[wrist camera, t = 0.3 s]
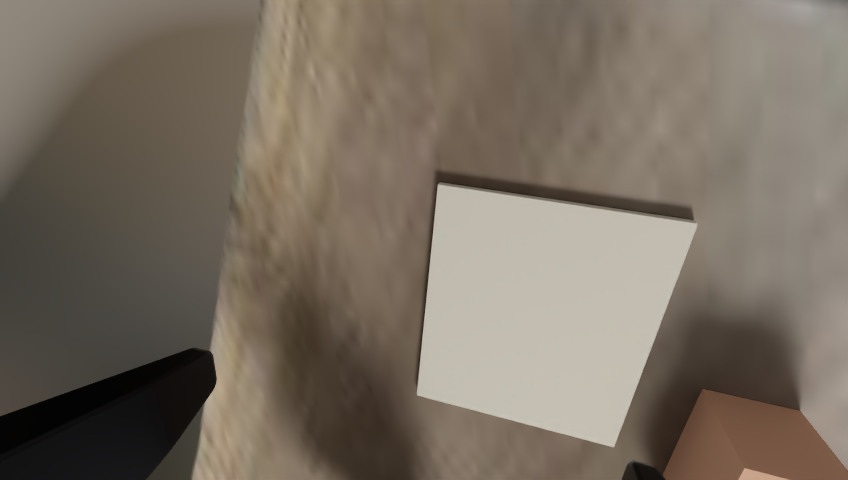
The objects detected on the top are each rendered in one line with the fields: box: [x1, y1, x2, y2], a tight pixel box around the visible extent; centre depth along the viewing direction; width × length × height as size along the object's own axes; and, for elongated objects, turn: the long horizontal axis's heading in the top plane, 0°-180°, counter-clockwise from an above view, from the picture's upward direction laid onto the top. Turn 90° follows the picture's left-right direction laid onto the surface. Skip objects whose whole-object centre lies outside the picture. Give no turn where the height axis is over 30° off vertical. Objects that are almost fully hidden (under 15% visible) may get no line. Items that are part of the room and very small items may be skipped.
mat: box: [417, 182, 698, 447], centre depth 22 cm, size 14×12×1 cm
